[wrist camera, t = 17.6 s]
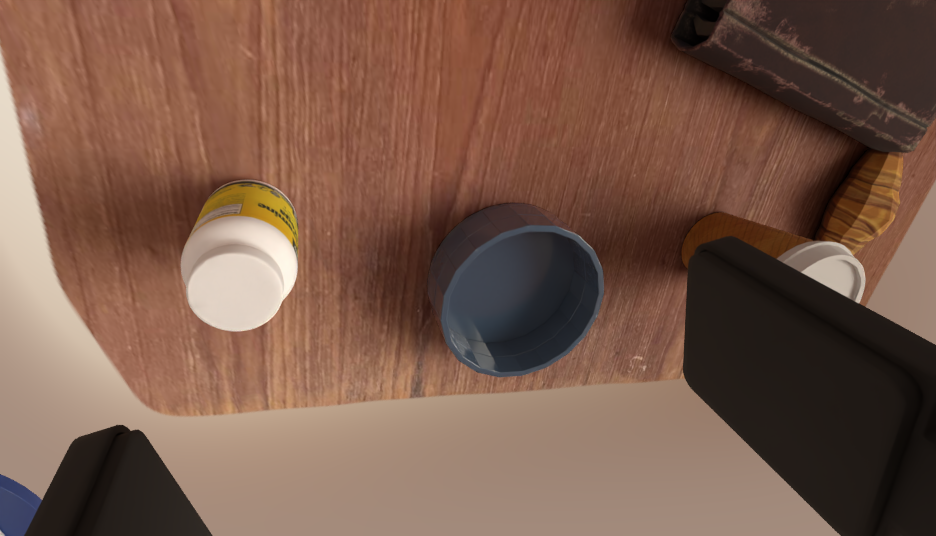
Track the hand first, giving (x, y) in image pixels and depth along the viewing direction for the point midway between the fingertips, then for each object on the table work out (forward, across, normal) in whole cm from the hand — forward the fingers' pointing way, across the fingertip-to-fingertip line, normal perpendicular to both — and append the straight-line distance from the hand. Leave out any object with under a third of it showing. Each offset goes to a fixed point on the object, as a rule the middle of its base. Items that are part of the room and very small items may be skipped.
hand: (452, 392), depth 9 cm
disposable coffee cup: (+31, -30, +20) cm, 47 cm away
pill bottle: (+31, +8, +6) cm, 32 cm away
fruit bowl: (+30, -10, +17) cm, 36 cm away
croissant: (+31, -45, +20) cm, 58 cm away
